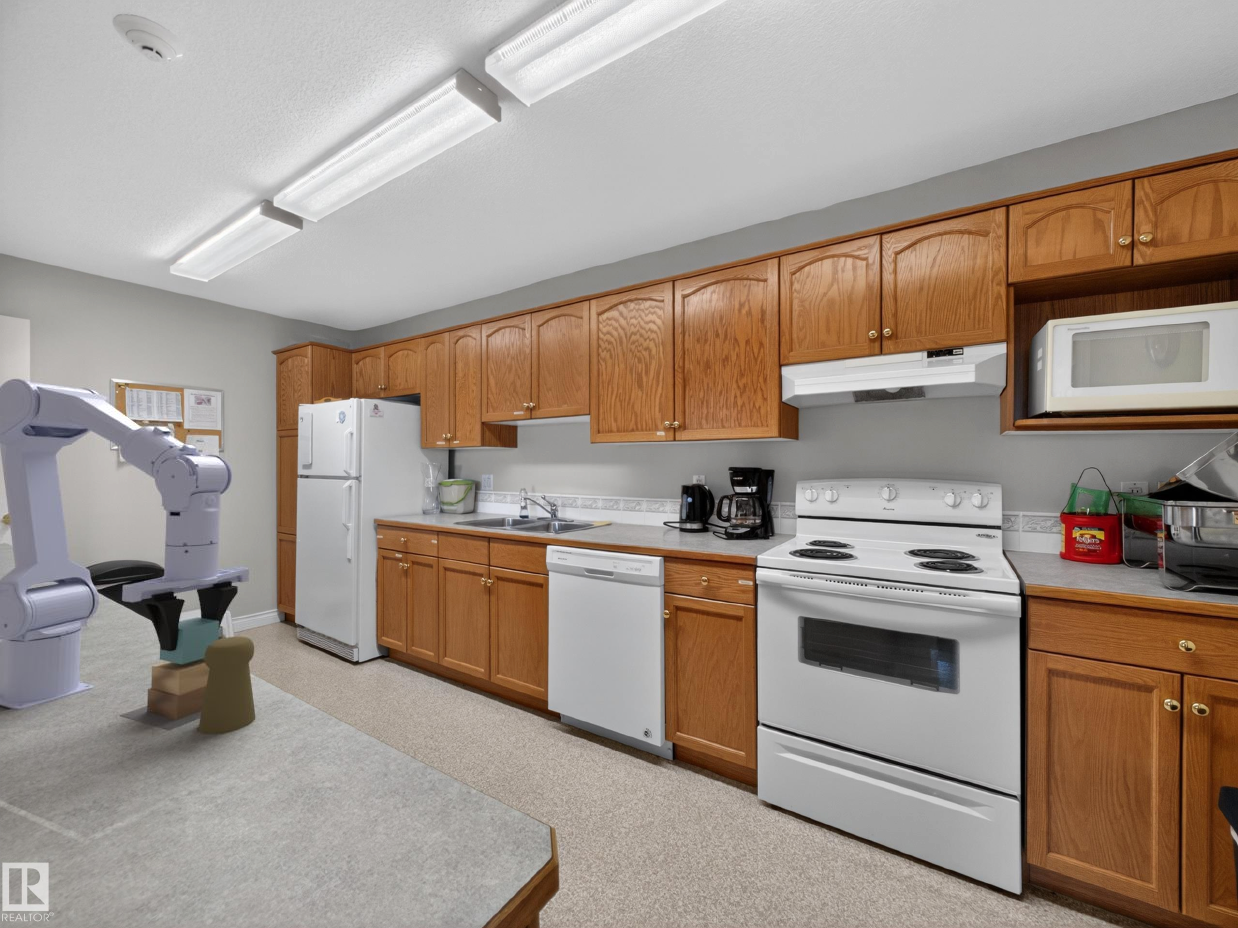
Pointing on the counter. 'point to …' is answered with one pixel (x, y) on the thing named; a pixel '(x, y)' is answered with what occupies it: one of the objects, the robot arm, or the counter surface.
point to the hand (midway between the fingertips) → (189, 644)
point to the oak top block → (179, 676)
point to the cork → (228, 686)
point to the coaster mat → (159, 718)
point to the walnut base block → (175, 703)
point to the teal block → (192, 640)
